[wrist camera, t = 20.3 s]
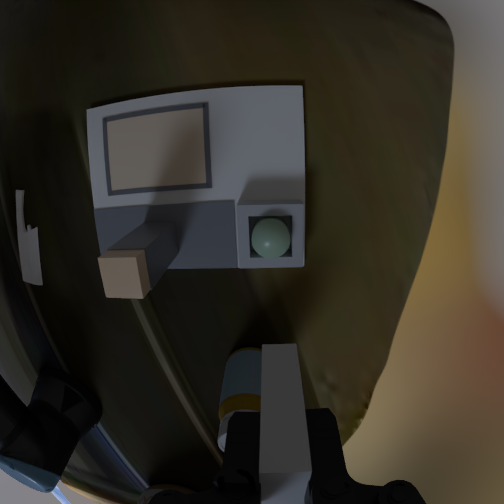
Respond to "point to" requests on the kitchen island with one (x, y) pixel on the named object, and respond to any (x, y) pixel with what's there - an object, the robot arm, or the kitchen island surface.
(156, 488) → the vase
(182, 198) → the board
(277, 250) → the button
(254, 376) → the bottle
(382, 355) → the kitchen island surface
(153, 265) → the two-tone square rod
